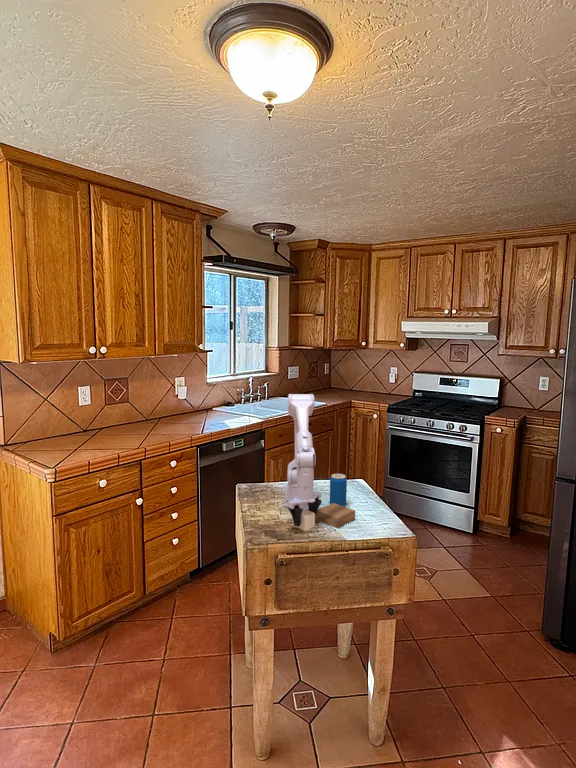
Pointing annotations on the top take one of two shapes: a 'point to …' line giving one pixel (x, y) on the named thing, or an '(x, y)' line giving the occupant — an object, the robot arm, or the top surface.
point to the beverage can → (338, 489)
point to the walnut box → (335, 515)
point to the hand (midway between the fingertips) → (304, 522)
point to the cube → (307, 520)
